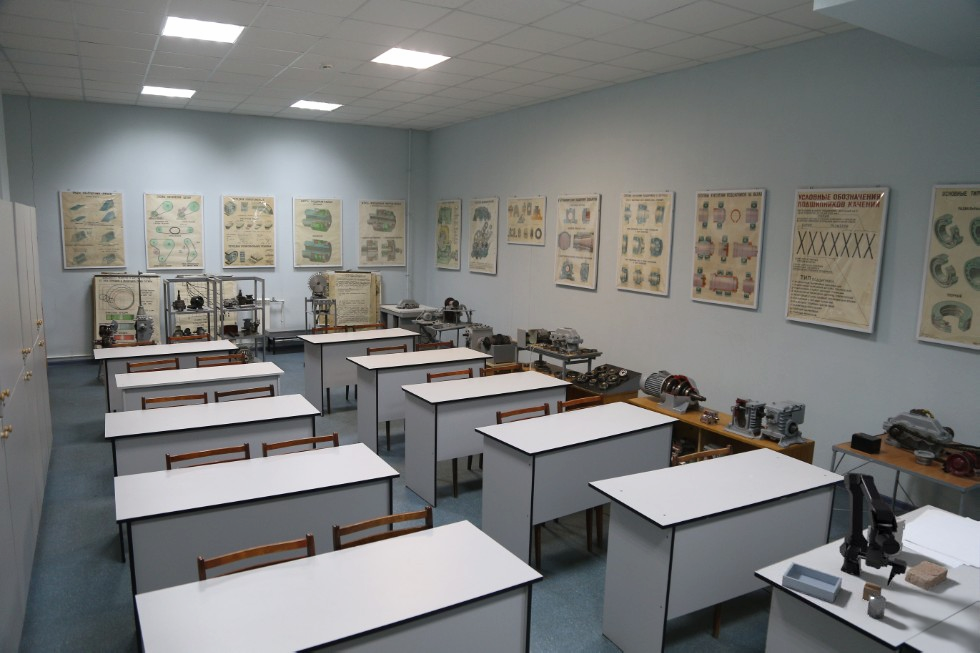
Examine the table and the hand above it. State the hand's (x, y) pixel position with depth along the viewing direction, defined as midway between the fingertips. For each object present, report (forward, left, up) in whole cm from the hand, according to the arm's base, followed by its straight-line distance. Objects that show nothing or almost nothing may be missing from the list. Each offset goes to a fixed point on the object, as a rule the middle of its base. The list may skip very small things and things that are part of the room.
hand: (873, 580), depth 234 cm
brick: (-30, +14, -8) cm, 34 cm away
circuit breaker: (-44, -3, -8) cm, 45 cm away
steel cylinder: (+11, +3, -7) cm, 14 cm away
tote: (+6, -19, -7) cm, 21 cm away
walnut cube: (0, 0, -7) cm, 7 cm away
